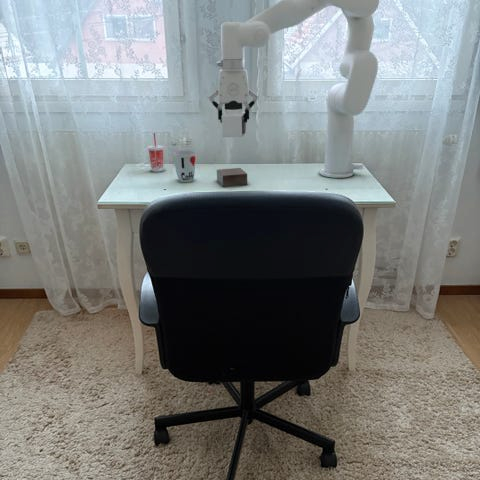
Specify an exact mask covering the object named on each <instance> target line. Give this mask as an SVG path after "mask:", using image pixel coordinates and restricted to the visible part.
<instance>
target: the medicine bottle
mask: <svg viewBox="0 0 480 480" xmlns="http://www.w3.org/2000/svg"><path fill="white" fill-rule="evenodd" d="M223 105H224V113H222V123H221V133H222V135H221V136H222V138H243V137H244V136H245V135H246V134H247V122H245V111H243V103H238V102H237V101H230V102H229V103H224V104H223Z"/></svg>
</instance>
